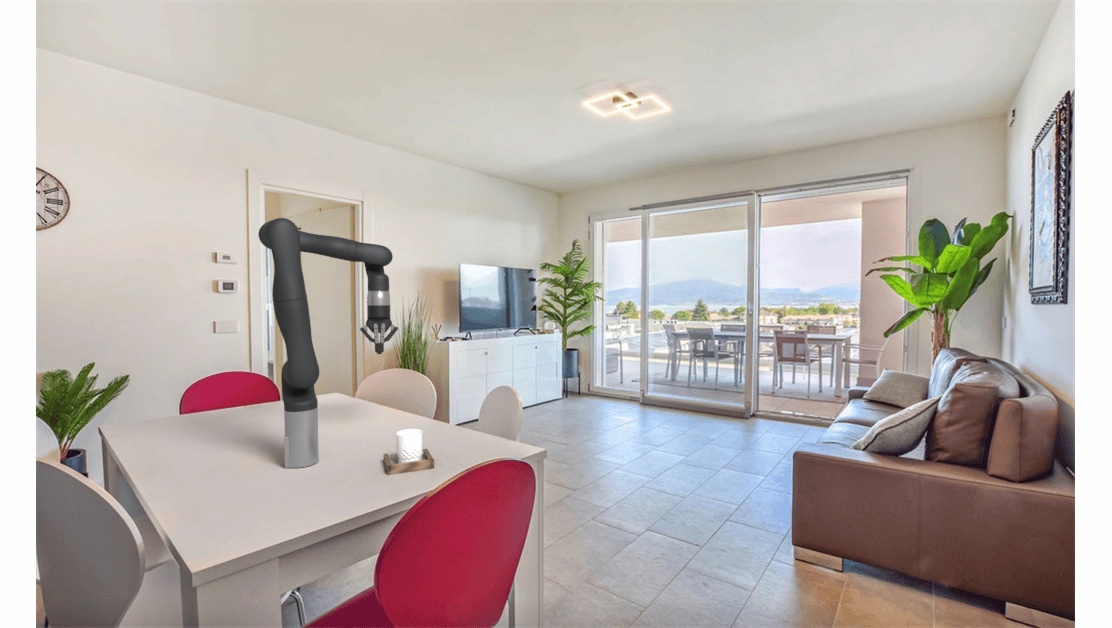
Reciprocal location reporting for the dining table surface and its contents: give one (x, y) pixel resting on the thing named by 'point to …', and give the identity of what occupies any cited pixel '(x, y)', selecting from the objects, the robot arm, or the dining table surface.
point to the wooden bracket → (409, 464)
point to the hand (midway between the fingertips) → (379, 353)
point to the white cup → (409, 445)
